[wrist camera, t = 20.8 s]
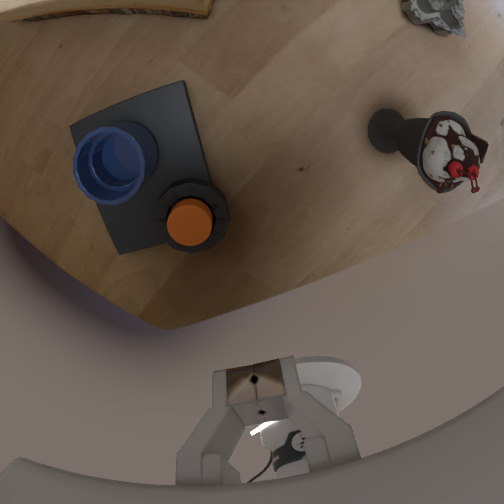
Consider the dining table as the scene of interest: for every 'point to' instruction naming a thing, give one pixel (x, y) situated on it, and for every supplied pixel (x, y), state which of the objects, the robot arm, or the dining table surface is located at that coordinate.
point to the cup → (114, 162)
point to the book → (100, 8)
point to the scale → (160, 171)
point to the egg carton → (437, 15)
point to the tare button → (190, 222)
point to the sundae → (431, 146)
